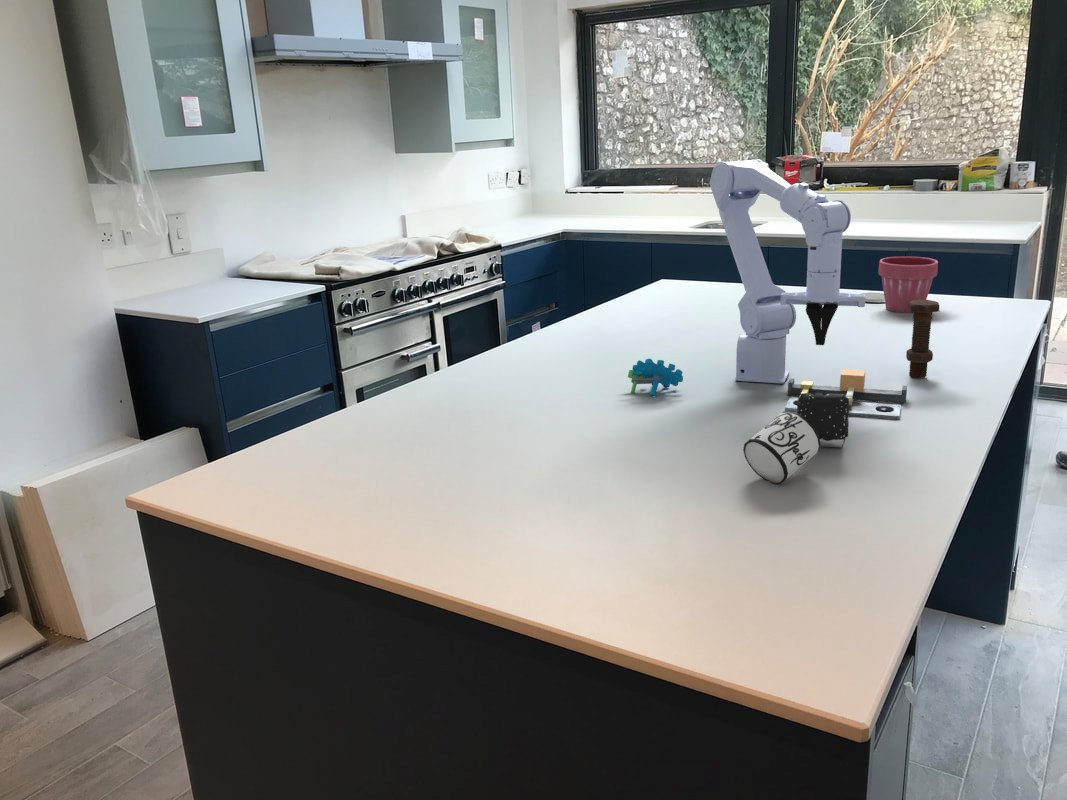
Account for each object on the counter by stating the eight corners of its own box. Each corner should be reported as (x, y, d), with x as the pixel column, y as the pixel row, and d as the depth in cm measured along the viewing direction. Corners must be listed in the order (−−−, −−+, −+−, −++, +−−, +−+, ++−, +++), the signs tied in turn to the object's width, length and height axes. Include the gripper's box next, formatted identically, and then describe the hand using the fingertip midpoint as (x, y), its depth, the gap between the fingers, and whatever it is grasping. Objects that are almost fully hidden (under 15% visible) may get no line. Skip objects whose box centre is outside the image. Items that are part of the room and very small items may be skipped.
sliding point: (836, 404, 156) (837, 384, 155) (841, 388, 165) (842, 368, 164) (860, 406, 154) (861, 385, 153) (864, 389, 163) (865, 370, 162)
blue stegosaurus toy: (691, 380, 173) (672, 354, 165) (686, 407, 170) (666, 382, 163) (641, 382, 179) (620, 357, 171) (635, 408, 176) (613, 383, 169)
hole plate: (784, 410, 158) (784, 406, 157) (789, 400, 163) (790, 396, 163) (899, 419, 150) (899, 415, 150) (900, 408, 156) (900, 404, 155)
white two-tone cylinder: (799, 499, 122) (802, 431, 119) (734, 484, 128) (735, 419, 125) (865, 444, 140) (869, 384, 137) (805, 433, 146) (807, 376, 143)
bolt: (934, 381, 169) (941, 305, 165) (906, 381, 170) (912, 305, 166) (928, 373, 175) (934, 299, 170) (901, 373, 176) (906, 299, 171)
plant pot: (943, 313, 224) (948, 263, 220) (887, 316, 224) (891, 265, 220) (920, 302, 237) (924, 255, 233) (868, 304, 238) (871, 257, 234)
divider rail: (782, 406, 160) (782, 392, 159) (789, 391, 168) (790, 378, 167) (904, 415, 152) (905, 401, 151) (906, 399, 160) (907, 385, 159)
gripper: (778, 273, 157) (776, 347, 161) (865, 274, 151) (860, 351, 156) (784, 267, 163) (782, 338, 167) (867, 268, 158) (863, 341, 162)
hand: (820, 343), depth 162 cm, fingers closed
